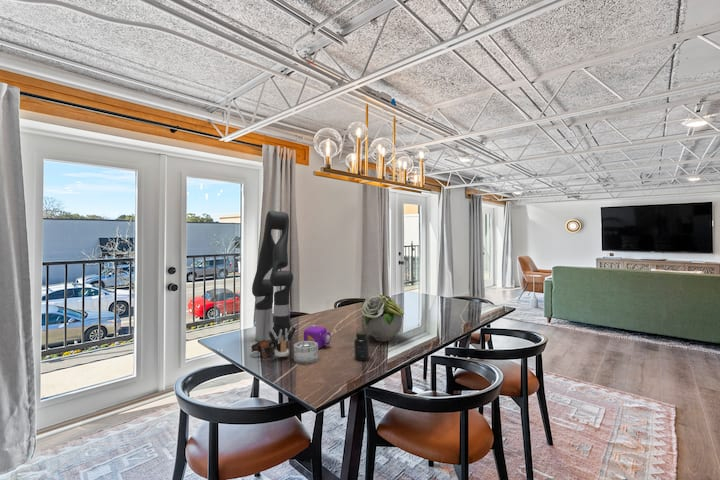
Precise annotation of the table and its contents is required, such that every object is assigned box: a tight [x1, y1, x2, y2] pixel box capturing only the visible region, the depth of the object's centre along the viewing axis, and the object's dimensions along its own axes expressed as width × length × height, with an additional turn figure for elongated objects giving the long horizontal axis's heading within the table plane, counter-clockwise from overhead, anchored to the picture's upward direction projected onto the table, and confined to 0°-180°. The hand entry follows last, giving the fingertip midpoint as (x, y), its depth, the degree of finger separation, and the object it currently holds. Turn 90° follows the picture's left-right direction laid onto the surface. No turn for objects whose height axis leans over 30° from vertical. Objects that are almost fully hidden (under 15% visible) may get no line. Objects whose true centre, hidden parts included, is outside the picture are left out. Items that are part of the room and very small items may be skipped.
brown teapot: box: [251, 340, 276, 359], centre depth 166 cm, size 12×10×8 cm
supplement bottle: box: [353, 331, 370, 362], centre depth 159 cm, size 7×7×12 cm
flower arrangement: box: [360, 294, 405, 342], centre depth 188 cm, size 25×25×24 cm
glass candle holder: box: [293, 340, 319, 365], centre depth 158 cm, size 11×11×7 cm
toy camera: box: [303, 324, 332, 350], centre depth 177 cm, size 11×14×10 cm
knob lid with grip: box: [274, 337, 290, 358], centre depth 160 cm, size 6×6×7 cm
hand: (281, 350), depth 160 cm, fingers closed on knob lid with grip, 2 cm apart
